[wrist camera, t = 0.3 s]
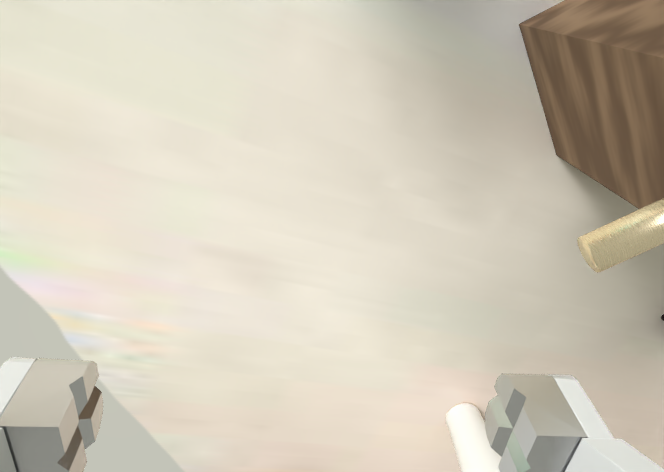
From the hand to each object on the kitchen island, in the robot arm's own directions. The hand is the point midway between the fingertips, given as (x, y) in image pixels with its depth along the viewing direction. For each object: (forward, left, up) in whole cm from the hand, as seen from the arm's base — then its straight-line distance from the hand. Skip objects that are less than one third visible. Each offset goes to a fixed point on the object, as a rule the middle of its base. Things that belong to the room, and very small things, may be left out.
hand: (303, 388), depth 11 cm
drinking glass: (+51, +29, -47) cm, 75 cm away
